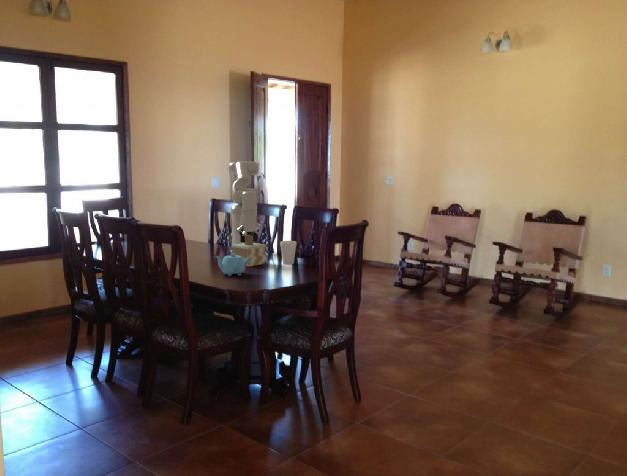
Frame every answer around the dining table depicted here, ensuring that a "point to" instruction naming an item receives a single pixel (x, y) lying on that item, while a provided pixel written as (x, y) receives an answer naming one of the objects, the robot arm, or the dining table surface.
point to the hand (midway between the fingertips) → (248, 241)
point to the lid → (248, 243)
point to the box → (251, 255)
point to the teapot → (233, 264)
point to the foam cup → (288, 251)
